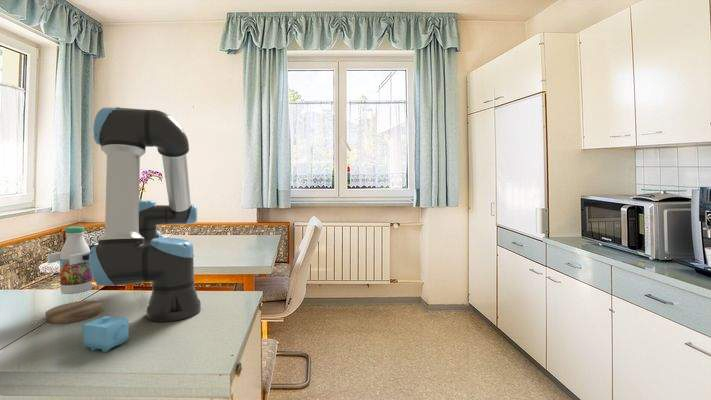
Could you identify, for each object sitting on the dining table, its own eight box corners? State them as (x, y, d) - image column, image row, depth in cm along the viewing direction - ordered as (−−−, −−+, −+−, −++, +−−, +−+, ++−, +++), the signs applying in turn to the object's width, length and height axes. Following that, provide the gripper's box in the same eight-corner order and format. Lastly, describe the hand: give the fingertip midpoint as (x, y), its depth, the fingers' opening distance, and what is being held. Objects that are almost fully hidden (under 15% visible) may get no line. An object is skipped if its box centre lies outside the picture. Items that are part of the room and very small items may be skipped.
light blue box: (139, 344, 90) (138, 315, 90) (118, 355, 84) (117, 324, 84) (102, 339, 93) (101, 310, 93) (78, 349, 87) (77, 319, 87)
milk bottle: (58, 291, 110) (56, 227, 109) (89, 286, 116) (87, 225, 115) (63, 296, 105) (61, 229, 104) (95, 290, 111) (93, 226, 110)
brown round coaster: (114, 309, 114) (114, 302, 114) (68, 326, 101) (67, 319, 101) (82, 304, 118) (81, 298, 118) (33, 320, 105) (33, 313, 105)
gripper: (148, 257, 126) (88, 273, 103) (101, 254, 130) (32, 270, 107) (148, 236, 125) (87, 248, 103) (100, 234, 129) (31, 245, 107)
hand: (59, 259), depth 105 cm, fingers closed on milk bottle, 7 cm apart
